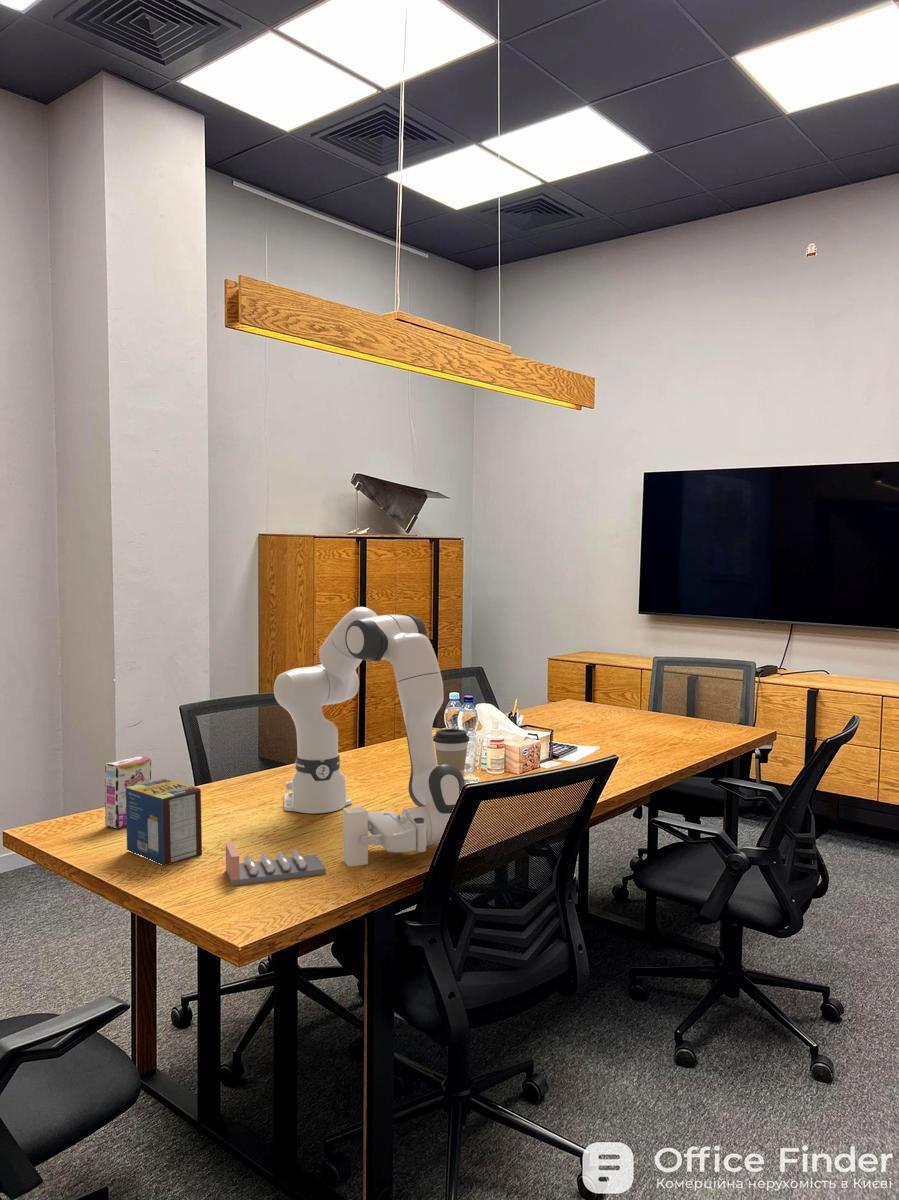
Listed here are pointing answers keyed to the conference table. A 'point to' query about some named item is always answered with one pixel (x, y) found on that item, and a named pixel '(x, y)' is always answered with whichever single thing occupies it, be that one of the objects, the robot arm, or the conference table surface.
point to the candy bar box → (123, 786)
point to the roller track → (279, 871)
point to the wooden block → (355, 836)
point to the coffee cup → (451, 747)
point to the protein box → (164, 821)
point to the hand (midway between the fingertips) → (354, 833)
